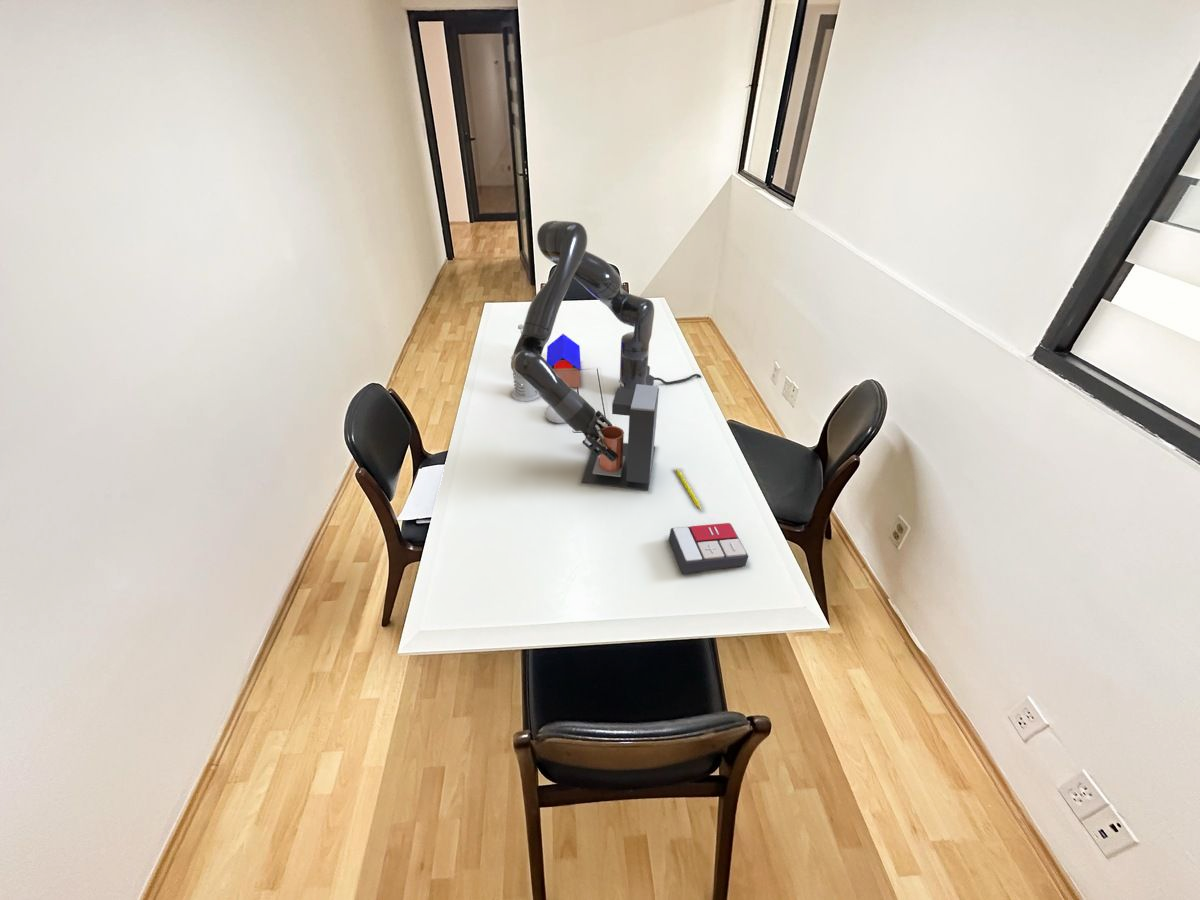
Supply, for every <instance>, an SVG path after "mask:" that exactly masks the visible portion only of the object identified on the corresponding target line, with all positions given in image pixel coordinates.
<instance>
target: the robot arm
mask: <svg viewBox="0 0 1200 900" xmlns="http://www.w3.org/2000/svg"><path fill="white" fill-rule="evenodd" d="M536 240H537V241H536V242H537V246H538V248H539V250H540V252H541V254H542V255H543V256H544V258H546V259H547V260H549V261H550V262H552V263H553V264H554V265H556V266H555V269H554V271H553V273H552V274H551V276H550V277H549V279H548V280H547V281H546V283H545V284H544V285H543V286H542V287H541V288H540V290H538V291H537V293H536V294H535V296H534V297H533V299H532V301H531V302H530V305H529V307H528V309H527V312H526V316H525V319H524V322H523V329H521V330H522V334H521V333H520V336H519V338H518V341H517V343H516V346H515V348H514V350H513V353H512V355H513V356H512V355H511V357H512V360H511V359H510V367H511V371H512V373H513V372H514V374H515V375H516V376H518V377H520V378H524V379H525V380H526V381H527V382H528V383H530V384H531V385H532V386H533V387H534V388H535V389H536V390H537V392H538V394H539V395H540V398H541V399H542V400H543V401H544V402H545V403H547V404H548V406H549V405H550V406H551V407H552V408H553V409H554V411H555V412H556V413H557V414H558V415H559V416H560V417H561V418H562V419H563V420H564V421H565V422H566V423H565V424H567V425H568V426H569V427H570V428H571V429H572V430H573V431H574V432H582V434H583V436H584V439H583V440H582V441H581V443H582V444H583V445H584V446H585V447H586V448H588V449H589V451H592V452H594V453H595V454H596V455H597V456H599V455H600V454H604V455H605V456H606V457H607V458H608V459H609V460H610V461H614V460H616V459H617V457H618V456H617V455H616V454H615V453H614V452H613V451H612V450H611V449H610V448H609V447H608V446H607V444H606V443H605V442H604V438H603V437H604V436H603V432H604V430H602V429H603V428H606V427H607V426H614V425H613V424H612V423H611V422H610V420H609V419H608V418H606V416H605V415H604V414H603V413H602V412H601V411H600V410H597V411H596V409H595V408H594V407H593V406H592V405H591V404H589V402H588V401H587V400H585V398H583V396H582V395H580V393H578V392H577V391H576V390H575V389H573V387H570V386H569V385H568V384H567V383H566V382H565V381H564V380H562V379H561V378H560V377H559V376H558V375H557V374H556V373H555V372H554V370H555V369H554V368H553V367H551V366H550V365H549V364H548V363H547V362H546V361H547V359H545V358H544V357H543V356H542V353H543V351H544V348H545V346H546V344H547V343H548V342H549V340H550V338H551V335H552V332H553V328H554V325H555V322H556V319H557V316H558V313H559V310H560V307H561V305H562V302H563V300H564V298H565V296H566V294H567V291H568V290H569V287H570V285H571V284H572V281H573V280H576V282H578V283H579V284H580V285H581V286H582V287H584V288H585V289H586V291H588V292H589V293H590V294H591V295H592V296H593V297H594V298H595V299H597V300H598V301H600V302H601V303H602V304H603V305H605V306H606V307H607V308H608V309H609V311H610V312H612V314H613V315H614V317H616V319H617V320H618V321H619V322H621V323H622V324H624V325H626V326H630V327H633V331H631V332H627V333H625V334H623V335H622V336H621V338H620V339H621V340H620V358H619V359H620V360H619V379H618V384H619V386H618V388H623V389H634V390H635V387H636V384H640V385H651V386H655V385H654V384H655V381H659V382H661V383H663V385H664V384H665V385H673V384H678V383H682V382H686V381H689V380H691V379H693V378H694V377H697V378H702V375H701V374H699V373H694V374H691V375H690V376H688V377H685V378H682V379H678V380H672V381H666V380H664V378H661V377H655V376H653V375H651V373H650V371H651V367H650V365H649V354H650V353H649V352H650V342H651V339H652V334H653V325H654V318H655V306H654V305H655V304H654V303H653V301H652V300H651V299H648V298H646V297H642V296H638V295H634V294H631V293H629V292H627V291H626V290H624V289H623V288H622V284H623V282H622V278H621V275H620V274H619V273H618V271H617V270H616V269H615V268H613V266H612V265H611V264H609V262H608V261H606V260H604V259H603V258H601V257H599V256H597V255H595V254H593V253H591V252H590V251H587V247H588V232H587V230H586V228H585V226H584V225H583V224H581V223H580V222H577V221H568V220H567V221H565V220H550V221H546V222H544V223H543V224H541V226H539V229H538V231H537V234H536ZM553 369H554V370H553ZM515 375H514V376H515ZM599 438H600V440H599V441H596V440H598V439H599ZM600 443H602V445H603V446H601V445H600ZM595 448H597V449H598V450H596V449H595Z"/></svg>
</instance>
